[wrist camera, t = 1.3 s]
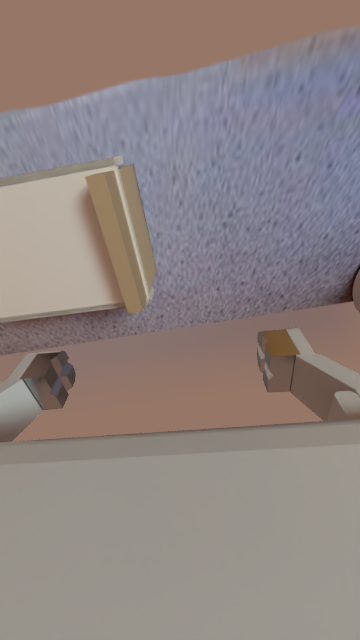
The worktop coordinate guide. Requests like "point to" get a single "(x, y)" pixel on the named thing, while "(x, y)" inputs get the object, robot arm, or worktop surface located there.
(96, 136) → the worktop surface
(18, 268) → the lid
